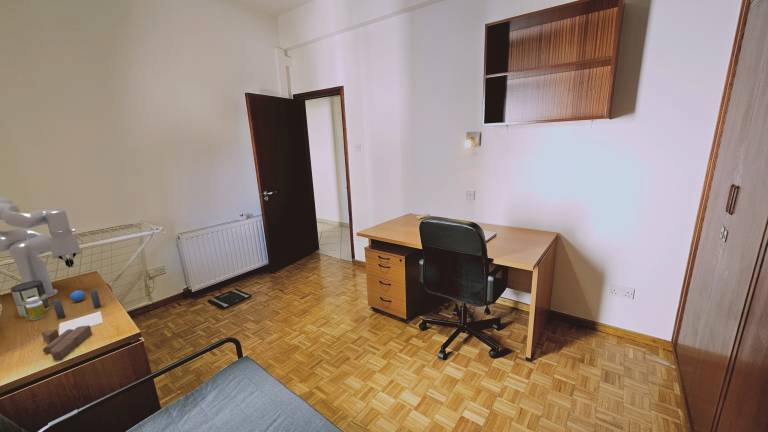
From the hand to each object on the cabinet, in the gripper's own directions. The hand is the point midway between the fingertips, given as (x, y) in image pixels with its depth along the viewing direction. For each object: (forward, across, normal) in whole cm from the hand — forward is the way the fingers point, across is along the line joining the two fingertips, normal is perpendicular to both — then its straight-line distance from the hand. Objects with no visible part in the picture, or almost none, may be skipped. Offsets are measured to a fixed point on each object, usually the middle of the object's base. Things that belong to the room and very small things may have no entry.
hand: (70, 266), depth 162 cm
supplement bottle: (+17, +14, +17) cm, 28 cm away
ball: (+14, 0, +9) cm, 17 cm away
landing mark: (+17, 0, +39) cm, 43 cm away
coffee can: (+17, +16, +7) cm, 24 cm away
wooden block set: (+18, +9, +56) cm, 59 cm away
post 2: (+17, -6, +25) cm, 31 cm away
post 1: (+17, +6, +25) cm, 31 cm away
